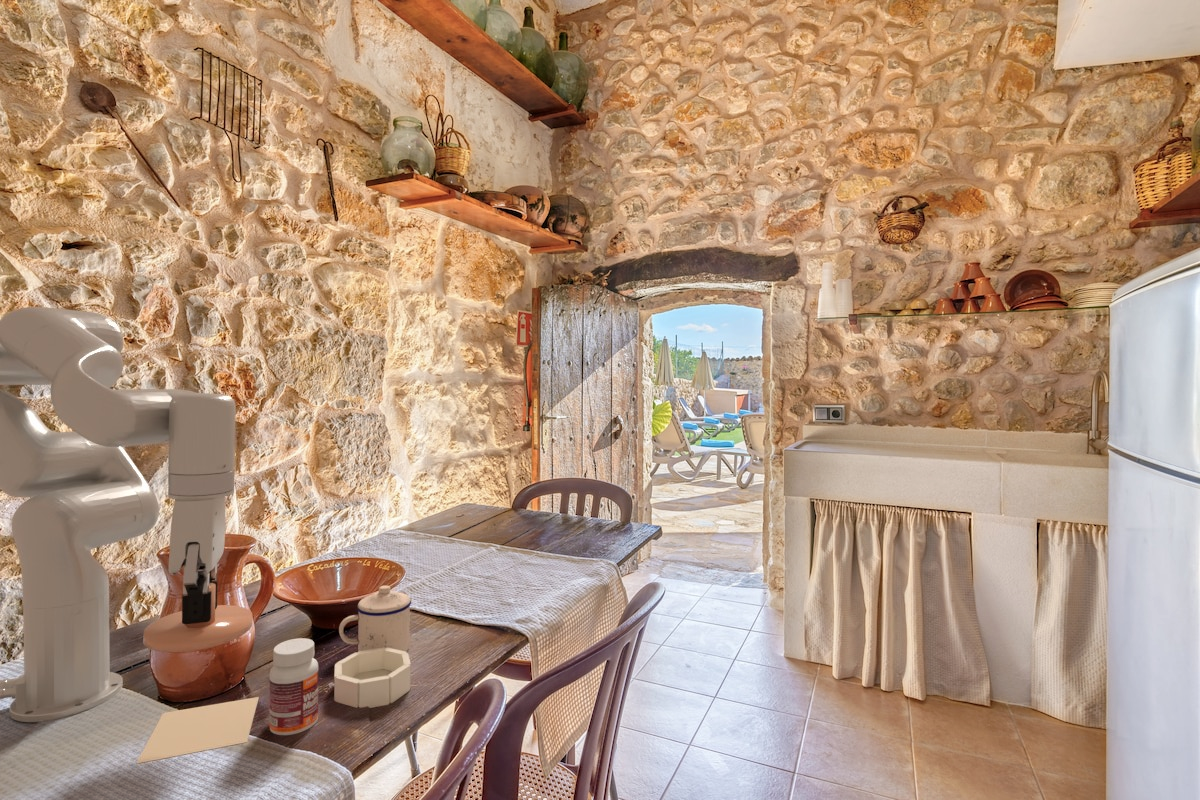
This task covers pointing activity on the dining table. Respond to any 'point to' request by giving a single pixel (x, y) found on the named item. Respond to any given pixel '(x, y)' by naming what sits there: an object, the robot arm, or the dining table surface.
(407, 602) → the teacup with lid
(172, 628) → the lid
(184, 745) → the mat
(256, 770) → the dining table surface
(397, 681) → the bowl
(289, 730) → the pill bottle
